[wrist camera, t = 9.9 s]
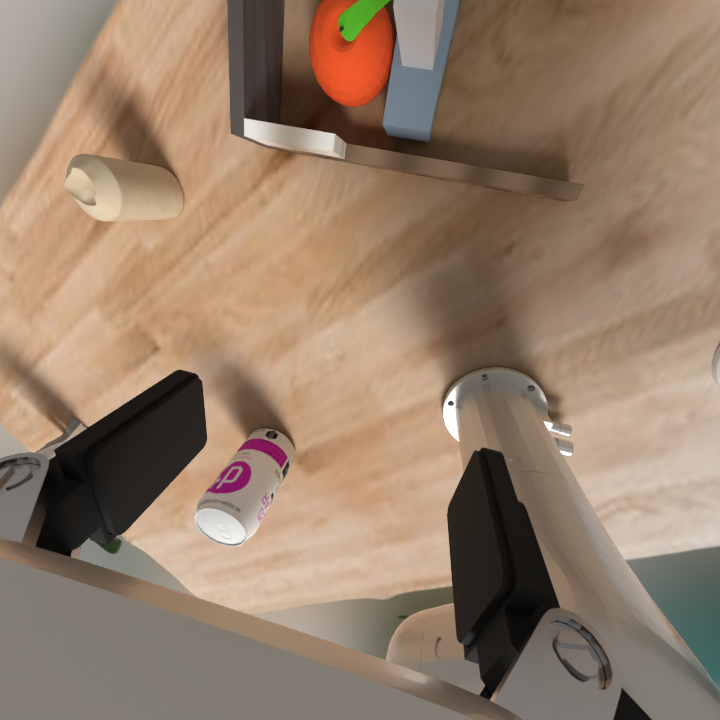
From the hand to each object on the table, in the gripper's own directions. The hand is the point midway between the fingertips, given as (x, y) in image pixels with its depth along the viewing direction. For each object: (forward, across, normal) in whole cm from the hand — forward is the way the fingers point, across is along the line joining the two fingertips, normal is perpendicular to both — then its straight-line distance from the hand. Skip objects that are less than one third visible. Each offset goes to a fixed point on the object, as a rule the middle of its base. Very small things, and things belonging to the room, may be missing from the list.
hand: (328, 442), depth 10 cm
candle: (+28, +29, -4) cm, 41 cm away
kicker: (+28, +2, -18) cm, 34 cm away
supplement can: (+28, +14, +31) cm, 44 cm away
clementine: (+28, +7, -18) cm, 34 cm away
